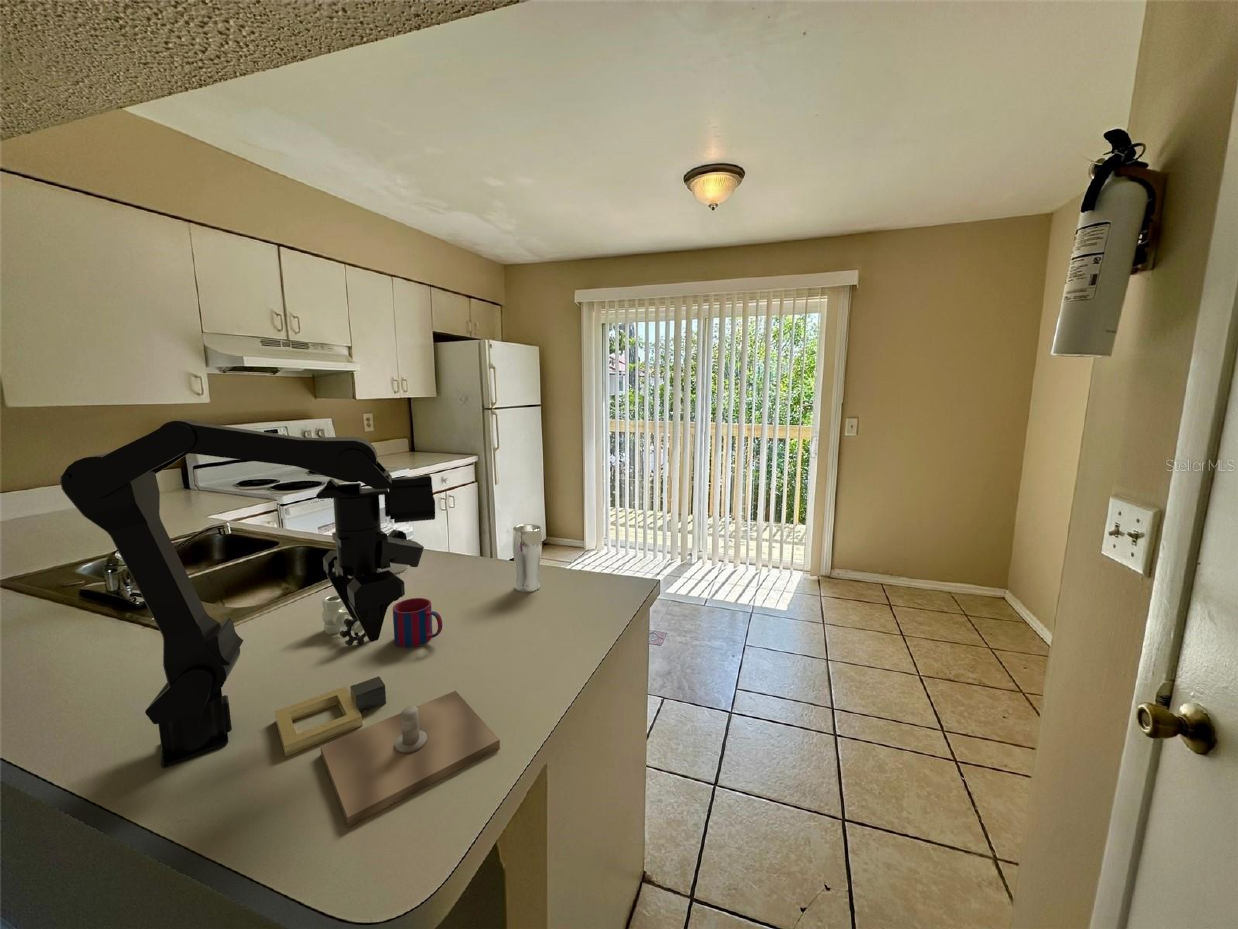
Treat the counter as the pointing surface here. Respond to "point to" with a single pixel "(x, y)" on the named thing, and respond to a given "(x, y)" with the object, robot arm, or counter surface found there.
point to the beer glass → (527, 556)
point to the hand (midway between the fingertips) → (364, 628)
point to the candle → (395, 568)
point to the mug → (414, 622)
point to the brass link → (350, 706)
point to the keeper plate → (404, 754)
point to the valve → (341, 620)
